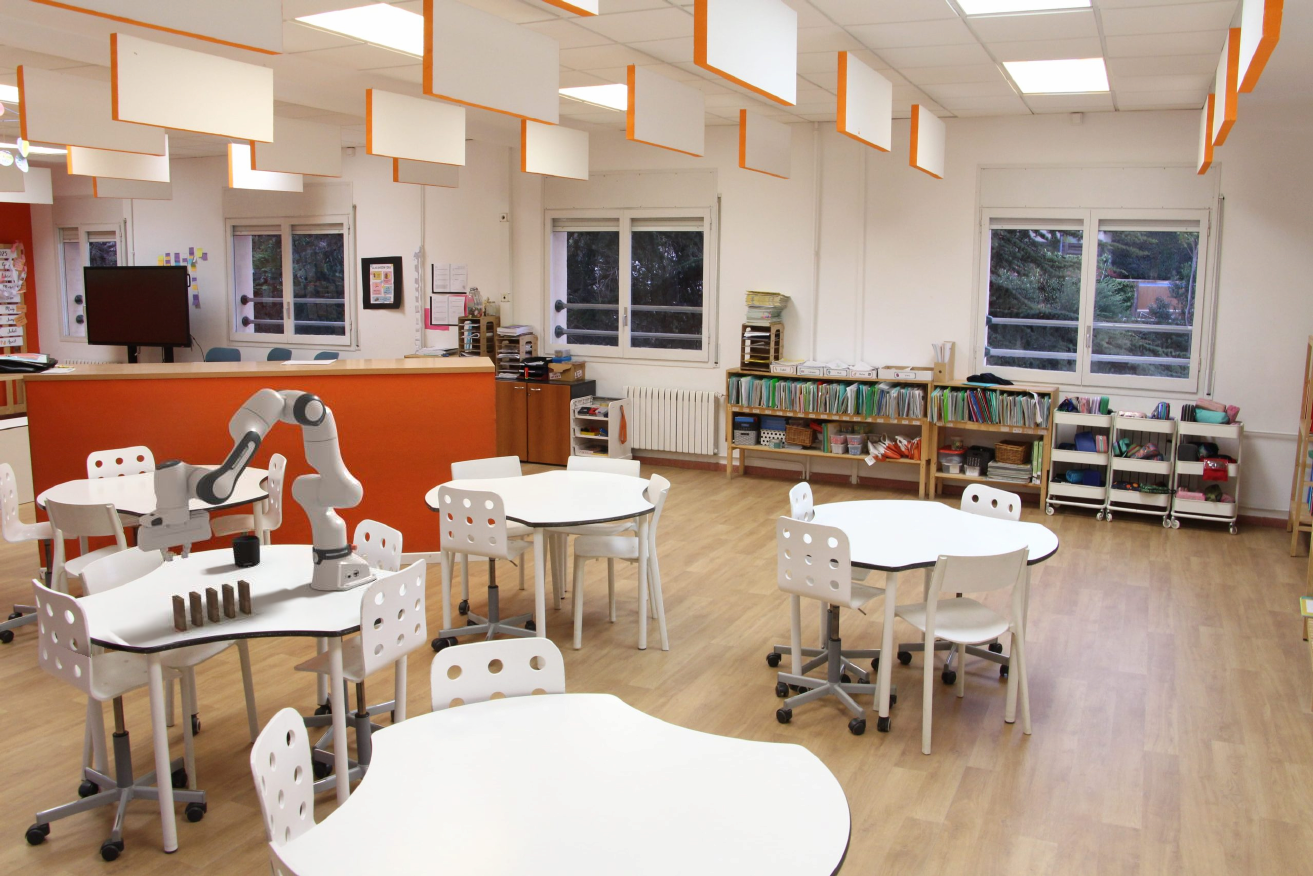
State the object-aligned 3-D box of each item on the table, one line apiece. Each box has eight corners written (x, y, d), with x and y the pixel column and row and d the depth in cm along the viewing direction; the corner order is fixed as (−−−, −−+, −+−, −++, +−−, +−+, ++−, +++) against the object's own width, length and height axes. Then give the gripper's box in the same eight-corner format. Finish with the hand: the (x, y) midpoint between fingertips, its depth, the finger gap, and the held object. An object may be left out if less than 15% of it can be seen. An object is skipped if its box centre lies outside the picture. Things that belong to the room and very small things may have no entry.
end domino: (180, 626, 296) (177, 594, 294) (186, 630, 293) (184, 598, 291) (174, 627, 295) (172, 596, 293) (181, 631, 292) (178, 600, 290)
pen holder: (228, 567, 357) (226, 541, 356) (244, 559, 366) (242, 534, 365) (250, 569, 355) (249, 542, 354) (266, 561, 364) (264, 536, 363)
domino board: (246, 609, 313) (246, 606, 313) (259, 616, 307) (259, 613, 307) (169, 629, 296) (169, 626, 296) (181, 637, 290) (181, 634, 290)
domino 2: (212, 617, 303) (210, 587, 302) (219, 621, 300) (217, 591, 298) (207, 619, 302) (205, 588, 300) (214, 623, 299) (212, 592, 297)
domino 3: (228, 613, 307) (226, 583, 305) (235, 617, 304) (233, 587, 302) (223, 615, 306) (221, 584, 304) (230, 619, 302) (228, 588, 301)
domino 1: (196, 622, 300) (194, 591, 298) (203, 626, 296) (200, 594, 295) (191, 623, 299) (188, 592, 297) (198, 627, 295) (195, 596, 293)
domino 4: (244, 609, 311) (242, 579, 309) (251, 613, 307) (249, 583, 306) (239, 611, 309) (237, 581, 308) (246, 614, 306) (244, 584, 304)
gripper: (204, 506, 298) (207, 549, 300) (133, 519, 283) (137, 564, 285) (213, 510, 294) (216, 554, 296) (141, 523, 279) (145, 569, 281)
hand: (177, 559), depth 291 cm, fingers open, 3 cm apart
